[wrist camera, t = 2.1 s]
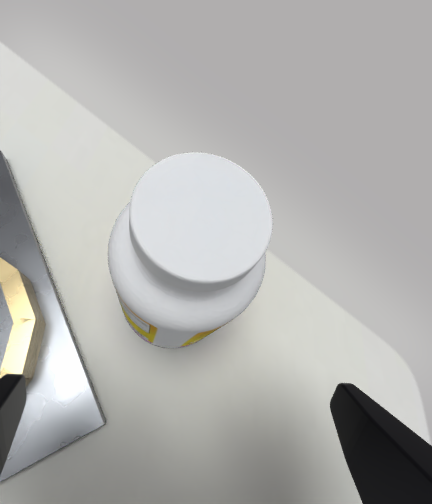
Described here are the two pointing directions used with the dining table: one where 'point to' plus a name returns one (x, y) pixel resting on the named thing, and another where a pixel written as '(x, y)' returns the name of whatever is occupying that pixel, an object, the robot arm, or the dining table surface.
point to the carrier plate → (60, 354)
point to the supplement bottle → (189, 248)
